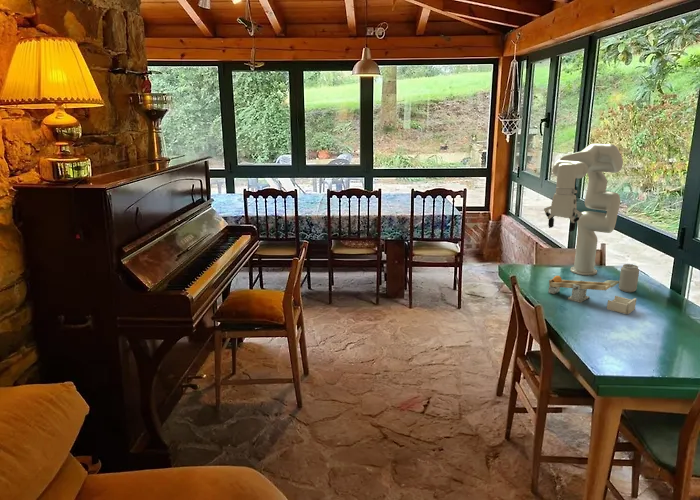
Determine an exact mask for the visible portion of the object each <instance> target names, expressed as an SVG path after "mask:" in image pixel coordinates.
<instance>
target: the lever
mask: <svg viewBox="0 0 700 500" xmlns="http://www.w3.org/2000/svg"><path fill="white" fill-rule="evenodd" d="M548 284H549V286H550V287H560V288H564V289H565V288H566V289H567V288H568V289H572V288H573V284H575V285H580V286H581V287H580V289H587V290H596V291H607V290H609V289H610V288H613V287H615V286H617V285H619V280H611V279H610V280H609V279H608V280H605V281H604V282H603V281H601V282H600V281H587V280H586V281H585V280H570V279H568V280H567V279H562V281H561V282H560V283H558V282H554V281H553V278H551V279H549V280H548ZM549 286H548V287H549Z"/></svg>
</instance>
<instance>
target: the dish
mask: <svg viewBox="0 0 700 500" xmlns="http://www.w3.org/2000/svg"><path fill="white" fill-rule="evenodd" d="M636 305H637V298H636V297H634V298H632V299H631V298H626V297H622V296H618V295H614V299H612V300H610V299H608V300H607V304H606V310H608V311H613V312H616V313H620V314H624V315H628V316H629V314H631V313H632V312H633V311H635V310H636Z"/></svg>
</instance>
